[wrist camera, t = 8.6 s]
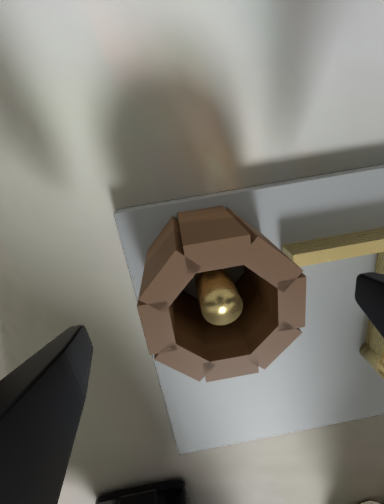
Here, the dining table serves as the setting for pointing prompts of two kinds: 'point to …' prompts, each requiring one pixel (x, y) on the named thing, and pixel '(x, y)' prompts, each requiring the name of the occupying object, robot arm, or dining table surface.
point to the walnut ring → (248, 286)
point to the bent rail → (341, 247)
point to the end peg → (218, 297)
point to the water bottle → (369, 502)
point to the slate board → (313, 334)
